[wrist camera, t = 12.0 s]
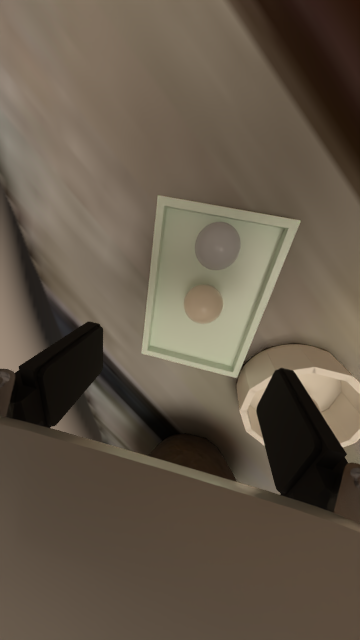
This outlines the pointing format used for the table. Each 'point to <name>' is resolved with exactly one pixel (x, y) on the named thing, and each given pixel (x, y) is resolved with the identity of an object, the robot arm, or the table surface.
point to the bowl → (316, 376)
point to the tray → (232, 282)
